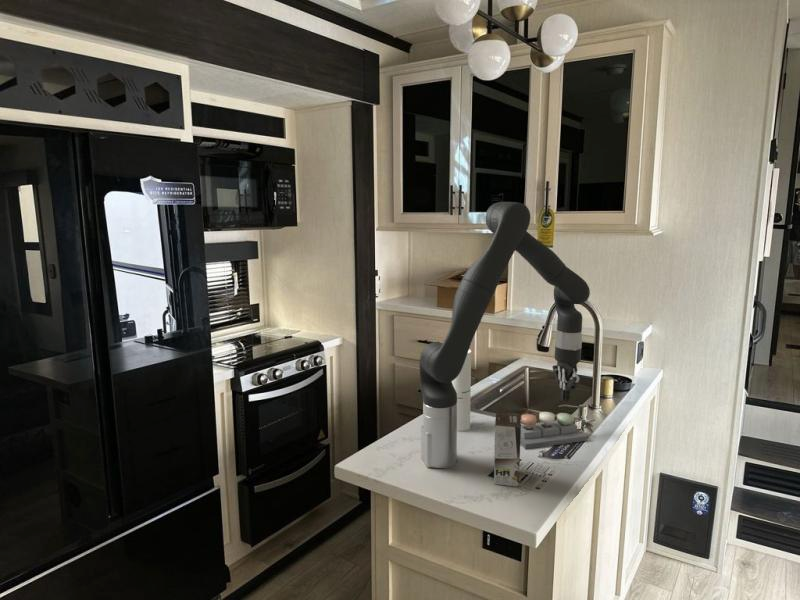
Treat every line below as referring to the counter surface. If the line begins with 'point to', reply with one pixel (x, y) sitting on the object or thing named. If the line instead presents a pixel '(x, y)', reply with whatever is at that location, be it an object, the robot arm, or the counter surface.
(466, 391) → the cylindrical container
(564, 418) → the sage button
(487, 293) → the robot arm
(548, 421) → the cream button
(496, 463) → the coffee box
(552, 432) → the console
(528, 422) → the terracotta button
